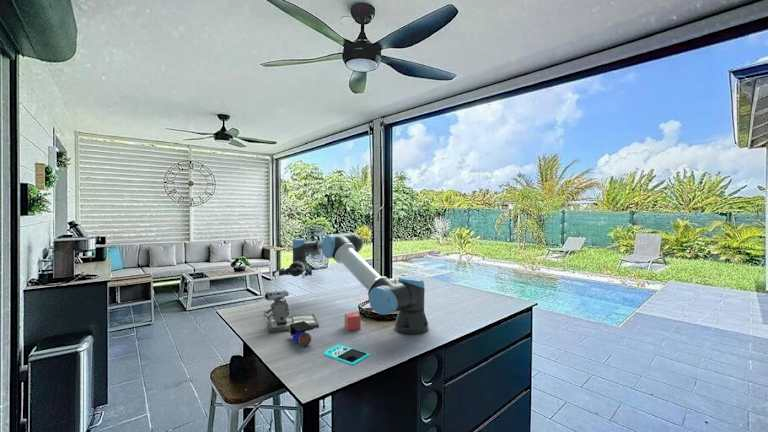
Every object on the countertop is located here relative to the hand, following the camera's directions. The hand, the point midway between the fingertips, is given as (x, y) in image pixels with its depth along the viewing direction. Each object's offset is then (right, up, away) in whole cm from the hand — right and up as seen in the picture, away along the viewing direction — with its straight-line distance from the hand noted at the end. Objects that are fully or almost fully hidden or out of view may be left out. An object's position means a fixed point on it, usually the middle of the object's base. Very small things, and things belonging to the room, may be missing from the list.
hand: (289, 276), depth 172 cm
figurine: (-3, -20, -12) cm, 23 cm away
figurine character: (+12, -22, -28) cm, 38 cm away
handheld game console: (+33, -23, -41) cm, 58 cm away
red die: (+33, -21, -14) cm, 41 cm away
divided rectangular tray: (+4, -21, -9) cm, 23 cm away
